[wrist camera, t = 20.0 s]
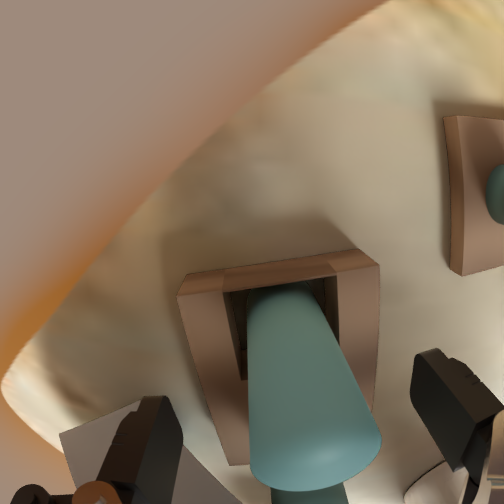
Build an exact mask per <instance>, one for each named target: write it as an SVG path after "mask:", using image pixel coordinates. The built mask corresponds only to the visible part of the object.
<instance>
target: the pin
mask: <svg viewBox="0 0 504 504" xmlns="http://www.w3.org/2000/svg"><path fill="white" fill-rule="evenodd" d="M247 351H248V402H249V447H250V469H251V471H252V474H253V475H254V476H255V478H257V479H258V480H259V481H260V482H262V483H263V484H265V485H267V486H269V487H272V488H275V489H279V490H285V491H311V490H318V489H322V488H326V487H330V486H333V485H336V484H339V483H341V482H343V481H346V480H348V479H349V478H351V477H353V476H355V475H356V474H358V473H359V472H361V471H362V470H363V469H365V468H366V467H367V466H368V465H369V464H370V463H371V462H372V461H373V460H374V458H375V457H376V456H377V454H378V452H379V450H380V447H381V443H382V438H381V434H380V431H379V429H378V427H377V425H376V422H375V420H374V418H373V416H372V414H371V411H370V409H369V407H368V405H367V403H366V401H365V399H364V396H363V394H362V392H361V390H360V388H359V386H358V384H357V382H356V380H355V377H354V375H353V373H352V371H351V369H350V367H349V365H348V363H347V361H346V359H345V357H344V355H343V353H342V350H341V348H340V346H339V344H338V342H337V340H336V338H335V336H334V334H333V332H332V330H331V328H330V326H329V324H328V322H327V320H326V318H325V316H324V314H323V312H322V310H321V308H320V306H319V304H318V302H317V300H316V298H315V296H314V294H313V292H312V290H311V289H310V287H309V285H308V284H307V283H306V282H305V281H298V282H291V283H285V284H279V285H272V286H265V287H259V288H252V289H251V291H250V293H249V295H248V299H247Z"/></svg>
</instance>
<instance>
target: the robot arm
mask: <svg viewBox="0 0 504 504" xmlns="http://www.w3.org/2000/svg"><path fill="white" fill-rule="evenodd" d="M410 398H411V402H412V404H413V406H414V408H415V410H416V411H417V413H418V414H419V416H420V418H421V419H422V421H423V423H424V424H425V426H426V427H427V429H428V431H429V432H430V434H431V436H432V437H433V439H434V441H435V442H436V444H437V446H438V448H439V449H440V451H441V453H442V454H443V456H444V458H445V459H446V461H445V462H444V463H442V464H440V465H439V466H437V467H436V468H434V469H433V470H431V471H430V472H428V473H427V474H425V475H424V476H423V477H421V478H420V479H419V480H418V481H417V482H415V483H414V484H413V485H412V486H411V487H410V488H409V490H408V491H407V492H406V494H405V496H404V501H405V504H504V405H503V404H502V403H501V402H500V401H499V400H498V399H497V398H496V396H495V395H494V394H493V393H492V392H491V391H490V390H489V389H488V388H487V387H486V386H485V384H484V383H483V382H480V379H479V378H478V377H477V376H476V375H474V374H473V372H472V371H471V370H470V369H469V367H468V366H467V365H466V364H464V363H462V362H460V361H458V360H456V359H454V358H450V359H448V358H447V357H446V355H445V354H444V353H443V352H442V351H441V350H440V349H438V348H434V349H431V350H428V351H425V352H422V353H419V354H417V355H416V356H415V358H414V365H413V373H412V379H411V386H410ZM111 443H112V445H110V447H109V449H108V452H107V454H106V456H105V459H104V461H103V464H102V466H101V468H100V471H99V473H98V476H97V478H96V480H95V481H90V482H87V483H85V484H83V485H81V486H80V487H79V488H78V489H77V490H76V491H75V493H74V494H69V495H50V494H49V493H48V492H47V491H46V490H45V489H44V488H43V487H41V486H39V485H36V484H30V485H25V486H23V487H21V488H20V489H19V490H18V491H17V492H16V493H15V495H14V497H13V499H12V501H11V503H10V504H171V502H172V497H173V492H174V487H175V481H176V476H177V471H178V466H179V461H180V456H181V451H182V446H183V433H182V429H181V426H180V424H179V421H178V419H177V417H176V415H175V412H174V410H173V408H172V405H171V403H170V400H169V399H168V397H167V396H144V397H143V398H142V399H141V402H140V404H139V407H138V409H137V411H130V412H129V414H128V415H127V416H126V417H125V418H124V419H123V420H122V421H121V422H120V424H119V426H118V429H117V431H116V435H114V438H113V440H112V442H111Z"/></svg>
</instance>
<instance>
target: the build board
mask: <svg viewBox="0 0 504 504" xmlns="http://www.w3.org/2000/svg"><path fill="white" fill-rule="evenodd" d="M322 277H324V289H325V304H326V320H327V322H328V324H329V326H330V328H331V330H332V332H333V334H334V336H335V338H336V340H337V342H338V344H339V346H340V348H341V350H342V353H343V355H344V357H345V359H346V361H347V363H348V365H349V367H350V369H351V371H352V373H353V375H354V377H355V380H356V382H357V384H358V386H359V388H360V390H361V392H362V394H363V396H364V399H365V401H366V403H367V405H368V407H369V409H370V411H371V414H372V407H373V398H374V389H375V378H376V366H377V352H378V334H379V300H380V270H379V264H377V263H376V262H375V261H374V260H372V259H371V258H370V257H369V256H367V255H366V254H365V253H364V252H362V251H361V250H360V249H353V250H347V251H340V252H334V253H328V254H321V255H315V256H308V257H302V258H296V259H289V260H282V261H276V262H269V263H263V264H256V265H249V266H242V267H236V268H229V269H222V270H215V271H208V272H201V273H194V274H187V275H186V277H185V279H184V281H183V283H182V285H181V287H180V289H179V291H178V293H177V295H176V298H177V302H178V306H179V310H180V314H181V318H182V321H183V325H184V329H185V332H186V336H187V339H188V343H189V346H190V350H191V353H192V357H193V360H194V363H195V367H196V370H197V373H198V377H199V380H200V383H201V386H202V389H203V392H204V396H205V399H206V402H207V405H208V408H209V411H210V414H211V417H212V420H213V422H214V425H215V428H216V431H217V434H218V437H219V439H220V442H221V445H222V448H223V450H224V453H225V456H226V458H227V461H228V464H229V466H235V465H248V464H250V447H249V402H248V351H247V350H241V346H240V342H239V337H238V332H237V326H236V321H235V316H234V311H233V306H232V301H231V296H230V292H231V291H238V290H245V289H252V288H259V287H265V286H272V285H279V284H285V283H291V282H298V281H304V280H310V279H316V278H322ZM270 488H271V501H272V504H349V503H348V499H347V496H346V492H345V488H344V485H343V482H341V483H339V484H336V485H333V486H330V487H326V488H322V489H318V490H311V491H285V490H279V489H275V488H272V487H270Z"/></svg>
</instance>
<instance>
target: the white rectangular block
mask: <svg viewBox="0 0 504 504" xmlns="http://www.w3.org/2000/svg"><path fill="white" fill-rule="evenodd" d="M140 402H141V400H139V401H136V402H134V403H132V404H130V405H128V406H125V407H123V408H121V409H119V410H116V411H114V412H112V413H109V414H107V415H105V416H102V417H100V418H97V419H95V420H93V421H90V422H88V423H85V424H83V425H80V426H78V427H75V428H73V429H70V430H68V431H65V432H62V433H60V434H59V437H60V441H61V444H62V447H63V451H64V454H65V457H66V460H67V463H68V466H69V469H70V472H71V475H72V478H73V480H74V483H75V486H76V488H77V489H78V488H79V487H80V486H81V485H83V484H85V483H87V482H90V481H95V480H96V478H97V476H98V473H99V471H100V468H101V466H102V464H103V461H104V459H105V456H106V454H107V452H108V449H109V447H110V445H112V443H111V442H112V440H113V438H114V435H116V431H117V429H118V426H119V424H120V422H121V421H122V420H123V419H124V418H125V417H126V416H127V415H128V414H129V412H130V411H137V409H138V407H139V404H140ZM171 504H242V503H241V502H240V501H239V500H238V499H237V498H236V497H234V496H233V495H232V494H231V493H230V492H229V491H228V490H227V489H226V488H225V487H224V486H223V485H222V484H221V483H220V482H219V481H218V480H217V479H216V478H215V477H214V476H213V475H212V474H211V473H210V472H209V471H208V470H207V469H206V468H205V467H204V466H203V465H202V464H201V463H200V462H199V461H198V460H197V459H196V458H195V457H194V456H193V455H192V453H191V452H190V451H189V450H188V449H187V448H186V447H185V446H184V445H183V446H182V451H181V456H180V461H179V466H178V471H177V476H176V481H175V487H174V492H173V497H172V502H171Z"/></svg>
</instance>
